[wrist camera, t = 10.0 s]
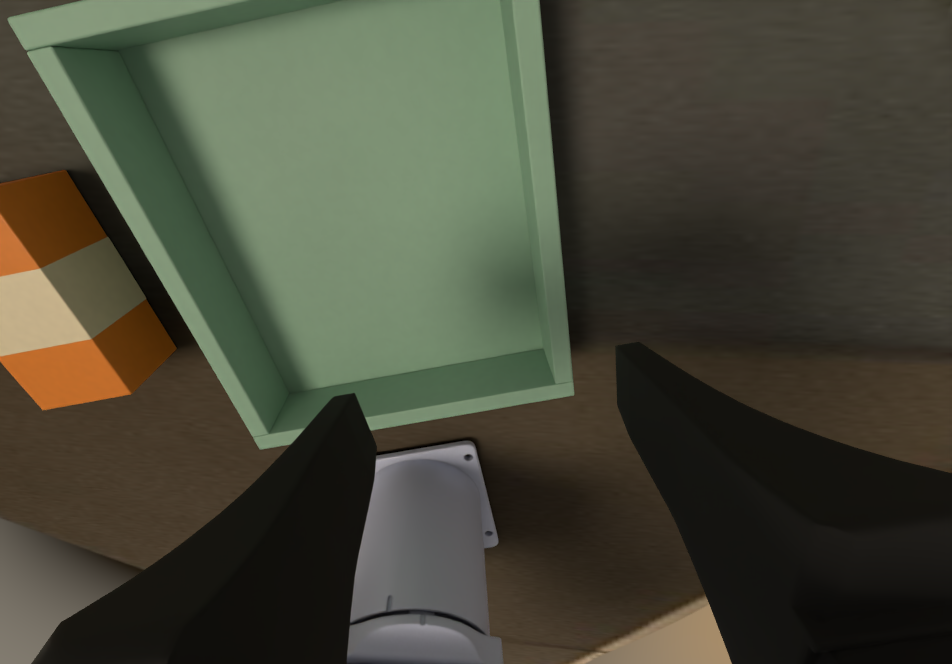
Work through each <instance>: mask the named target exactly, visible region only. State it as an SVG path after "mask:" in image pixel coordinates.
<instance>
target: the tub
mask: <svg viewBox="0 0 952 664" xmlns="http://www.w3.org/2000/svg"><path fill="white" fill-rule="evenodd" d="M7 20H8V22H9V24H10V25H11V27H12V29H13V30H14V32H15V34H16V36H17V37H18V39H19V41H20V42H21V44H22V46H23V47H24V49H25V50H28V52H27V54H28V56H29V58H30V59H31V61H32V63H33V64H34V66H35V68H36V70H37V71H38V73H39V75H40V76H41V78H42V80H43V81H44V83H45V85H46V87H47V88H48V90H49V92H50V93H51V95H52V97H53V98H54V100H55V102H56V104H57V105H58V107H59V109H60V110H61V112H62V114H63V115H64V117H65V119H66V121H67V122H68V124H69V126H70V127H71V129H72V131H73V132H74V134H75V136H76V138H77V139H78V141H79V143H80V144H81V146H82V148H83V149H84V151H85V153H86V154H87V156H88V158H89V160H90V161H91V163H92V165H93V166H94V168H95V170H96V171H97V173H98V175H99V177H100V178H101V180H102V182H103V183H104V185H105V187H106V188H107V190H108V192H109V194H110V195H111V197H112V199H113V200H114V202H115V204H116V205H117V207H118V209H119V211H120V212H121V214H122V216H123V217H124V219H125V221H126V222H127V224H128V226H129V227H130V229H131V231H132V233H133V234H134V236H135V238H136V239H137V241H138V243H139V244H140V246H141V248H142V250H143V251H144V253H145V255H146V256H147V258H148V260H149V261H150V263H151V265H152V267H153V268H154V270H155V272H156V273H157V275H158V277H159V278H160V280H161V282H162V284H163V285H164V287H165V289H166V290H167V292H168V294H169V295H170V297H171V299H172V301H173V302H174V304H175V306H176V307H177V309H178V311H179V312H180V314H181V316H182V317H183V319H184V321H185V323H186V324H187V326H188V328H189V329H190V331H191V333H192V334H193V336H194V338H195V340H196V341H197V343H198V345H199V346H200V348H201V350H202V351H203V353H204V355H205V357H206V358H207V360H208V362H209V363H210V365H211V367H212V368H213V370H214V372H215V374H216V375H217V377H218V379H219V380H220V382H221V384H222V385H223V387H224V389H225V391H226V392H227V394H228V396H229V397H230V399H231V401H232V402H233V404H234V406H235V407H236V409H237V411H238V413H239V414H240V416H241V418H242V419H243V421H244V423H245V424H246V426H247V428H248V430H249V431H250V433H251V435H252V436H253V438H254V440H255V442H256V444H257V445H258V447H259V449H266V448H272V447H278V446H284V445H289V444H292V443H293V441H294V440H295V439H296V438H297V437H298V436H299V435H300V434H301V432H302V431H303V430H304V429H305V428H306V427H307V426H308V425H309V423H310V422H311V421H312V420H313V419H314V418H315V416H316V415H317V414H318V413H319V412H320V411H321V410H322V408H323V407H324V406H325V405H326V404H327V403H328V402H329V401H330V400H331V399H332V398H333V397H334V396H339V395H345V394H350V393H355V394H356V397H357V399H358V401H359V404H360V406H361V409H362V411H363V414H364V416H365V419H366V421H367V424H368V426H369V428H370V431H371V430H376V429H382V428H388V427H394V426H400V425H405V424H411V423H417V422H423V421H429V420H434V419H440V418H446V417H452V416H458V415H463V414H469V413H475V412H481V411H487V410H492V409H498V408H504V407H510V406H515V405H521V404H527V403H533V402H539V401H544V400H550V399H556V398H562V397H568V396H573V395H574V384H573V374H572V362H571V351H570V340H569V328H568V317H567V306H566V294H565V283H564V272H563V260H562V249H561V238H560V226H559V215H558V204H557V192H556V181H555V170H554V158H553V147H552V136H551V124H550V113H549V102H548V90H547V79H546V68H545V56H544V45H543V34H542V22H541V11H540V0H82V1H77V2H73V3H69V4H64V5H60V6H56V7H51V8H47V9H43V10H38V11H34V12H29V13H25V14H21V15H16V16H12V17H9V18H8V19H7Z"/></svg>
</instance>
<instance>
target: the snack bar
mask: <svg viewBox="0 0 952 664" xmlns="http://www.w3.org/2000/svg"><path fill="white" fill-rule="evenodd" d="M176 349H177V348H176V346H175V345H174V343H173V341H172V340H171V338H170V337H169V335H168V333H167V332H166V330H165V329H164V327H163V325H162V324H161V322H160V321H159V319H158V317H157V316H156V314H155V313H154V311H153V309H152V308H151V306H150V304H149V303H148V301H147V300H146V297H145V295H144V293H143V292H142V290H141V289H140V287H139V285H138V284H137V282H136V280H135V279H134V277H133V276H132V274H131V272H130V271H129V269H128V268H127V266H126V264H125V263H124V261H123V260H122V258H121V256H120V255H119V253H118V251H117V250H116V248H115V247H114V245H113V243H112V242H111V240H110V239H109V237H107V235H106V234H105V232H104V230H103V229H102V227H101V226H100V224H99V222H98V221H97V219H96V218H95V216H94V214H93V213H92V211H91V210H90V208H89V206H88V205H87V203H86V202H85V200H84V198H83V197H82V195H81V193H80V192H79V190H78V189H77V187H76V185H75V184H74V182H73V181H72V179H71V177H70V176H69V174H68V173H67V171H66V170H61V171H56V172H52V173H47V174H42V175H37V176H33V177H28V178H23V179H18V180H14V181H9V182H4V183H0V362H1V363H2V364H3V365H4V366H5V368H6V369H7V370H8V371H9V372H10V373H11V374H12V376H13V377H14V378H15V379H16V380H17V381H18V382H19V384H20V385H21V386H22V387H23V388H24V389H25V390H26V392H27V393H28V394H29V395H30V396H31V397H32V398H33V400H34V401H35V402H36V403H37V404H38V405H39V406H40V407H41V409H42V410H47V409H53V408H58V407H64V406H69V405H75V404H80V403H86V402H91V401H97V400H102V399H108V398H113V397H119V396H124V395H130V394H132V393H133V392H134V391H135V390H136V389H137V388H138V387H139V386H140V385H141V384H142V383H143V382H144V381H145V380H146V379H147V378H148V377H149V376H150V375H151V374H152V373H153V372H154V371H155V370H156V369H157V368H158V367H159V366H160V365H161V364H162V363H163V362H164V361H165V360H166V359H167V358H168V357H169V356H170V355H171V354H172V353H173V352H174V351H175V350H176Z"/></svg>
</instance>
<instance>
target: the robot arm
mask: <svg viewBox="0 0 952 664" xmlns="http://www.w3.org/2000/svg"><path fill="white" fill-rule="evenodd" d="M616 377H617V405H618V408H619V410H620V413H621V416H622V418H623V421H624V424H625V426H626V429H627V431H628V434H629V436H630V438H631V440H632V442H633V444H634V446H635V448H636V450H637V451H638V453H639V455H640V457H641V459H642V461H643V462H644V464H645V466H646V468H647V470H648V472H649V473H650V475H651V477H652V479H653V481H654V483H655V484H656V486H657V488H658V490H659V492H660V493H661V495H662V497H663V499H664V501H665V503H666V504H667V506H668V508H669V510H670V512H671V514H672V516H673V518H674V520H675V522H676V524H677V527H678V529H679V531H680V534H681V536H682V538H683V541H684V543H685V546H686V548H687V550H688V553H689V555H690V557H691V560H692V562H693V565H694V567H695V569H696V572H697V574H698V577H699V579H700V582H701V584H702V587H703V589H704V592H705V594H706V597H707V599H708V602H709V604H710V607H711V609H712V612H713V615H714V617H715V620H716V623H717V625H718V628H719V630H720V633H721V636H722V638H723V641H724V643H725V646H726V648H727V651H728V654H729V657H730V660H731V662H732V664H952V473H948V472H944V471H940V470H936V469H932V468H928V467H924V466H920V465H915V464H911V463H907V462H903V461H899V460H896V459H892V458H889V457H885V456H882V455H878V454H875V453H872V452H868V451H865V450H862V449H858V448H855V447H852V446H849V445H846V444H843V443H840V442H837V441H833V440H830V439H828V438H825V437H822V436H819V435H817V434H814V433H811V432H809V431H806V430H803V429H800V428H798V427H795V426H793V425H790V424H788V423H785V422H783V421H780V420H778V419H775V418H773V417H771V416H769V415H767V414H764V413H762V412H760V411H758V410H755V409H753V408H751V407H749V406H747V405H745V404H743V403H740V402H738V401H736V400H735V399H733V398H731V397H729V396H727V395H725V394H723V393H721V392H719V391H718V390H716V389H714V388H712V387H710V386H709V385H707V384H705V383H703V382H702V381H700V380H698V379H696V378H695V377H693V376H691V375H690V374H688V373H687V372H685V371H683V370H682V369H680V368H678V367H677V366H675V365H674V364H672V363H671V362H669V361H668V360H666V359H664V358H663V357H661V356H660V355H658V354H657V353H655V352H654V351H652V350H651V349H649V348H648V347H646V346H644V345H643V344H641V343H640V342H635V343H629V344H624V345H618V346H616ZM376 451H377V446H376V443H375V441H374V438H373V436H372V433H371V431H370V428H369V426H368V424H367V421H366V419H365V416H364V414H363V411H362V409H361V406H360V404H359V401H358V399H357V397H356V394H355V393H350V394H345V395H339V396H334V397H333V398H332V399H331V400H330V401H329V402H328V403H327V404H326V405H325V406H324V407H323V408H322V410H321V411H320V412H319V413H318V414H317V415H316V416H315V418H314V419H313V420H312V421H311V422H310V423H309V425H308V426H307V427H306V428H305V429H304V430H303V431H302V432H301V434H300V435H299V436H298V437H297V438H296V439H295V440H294V441H293V443H292V444H291V445H290V446H289V447H288V448H287V449H286V450H285V451H284V452H283V454H282V455H281V456H280V457H279V458H278V459H277V460H276V461H275V462H274V463H273V464H272V465H271V466H270V467H269V468H268V469H267V470H266V471H265V472H264V473H263V474H262V475H261V476H260V477H259V478H258V479H257V480H256V481H255V482H254V483H253V484H252V485H251V486H250V487H249V488H248V489H247V490H246V491H245V492H244V493H243V494H241V495H240V496H239V497H238V498H237V499H236V500H235V501H234V502H232V503H231V504H230V505H229V506H228V507H227V508H226V509H225V510H223V511H222V512H221V513H220V514H219V515H217V516H216V517H215V518H214V519H212V520H211V521H210V522H209V523H207V524H206V525H205V526H204V527H202V528H201V529H200V530H198V531H197V532H196V533H195V534H193V535H192V536H191V537H190V538H188V539H187V540H186V541H184V542H183V543H182V544H181V545H179V546H178V547H177V548H175V549H174V550H172V551H171V552H170V553H168V554H167V555H165V556H164V557H163V558H161V559H160V560H158V561H157V562H156V563H154V564H153V565H151V566H150V567H148V568H147V569H145V570H144V571H142V572H141V573H139V574H138V575H136V576H135V577H134V578H132V579H131V580H129V581H127V582H126V583H124V584H123V585H121V586H120V587H118V588H116V589H115V590H113V591H112V592H110V593H108V594H107V595H105V596H103V597H102V598H100V599H99V600H97V601H95V602H94V603H92V604H90V605H89V606H87V607H86V608H84V609H82V610H81V611H79V612H77V613H76V614H74V615H73V616H71V617H69V618H67V619H66V620H64V621H62V622H61V623H60V624H59V625H58V627H57V628H56V630H55V631H54V633H53V634H52V635H51V637H50V638H49V639H48V641H47V642H46V644H45V645H44V647H43V648H42V650H41V651H40V652H39V654H38V655H37V657H36V658H35V659H34V661H33V662H32V664H503V654H502V643H501V638H499V637H493V636H490V630H489V615H488V600H487V586H486V571H485V556H484V548H489V547H494V546H496V545H497V544H498V535H497V531H496V527H495V523H494V519H493V515H492V511H491V507H490V503H489V499H488V495H487V491H486V487H485V483H484V479H483V475H482V471H481V467H480V463H479V459H478V455H477V451H476V447H475V444H474V443H473V442H472V441H460V442H454V443H448V444H442V445H436V446H430V447H424V448H419V449H413V450H407V451H401V452H395V453H389V454H383V455H377V456H376ZM467 454H470V456H466V455H467Z"/></svg>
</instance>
